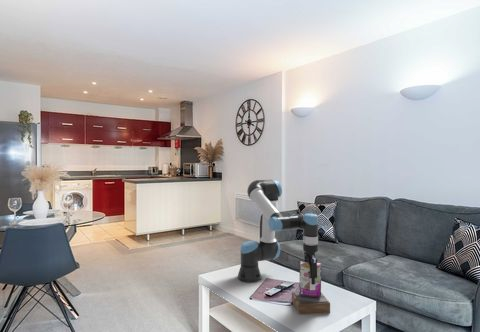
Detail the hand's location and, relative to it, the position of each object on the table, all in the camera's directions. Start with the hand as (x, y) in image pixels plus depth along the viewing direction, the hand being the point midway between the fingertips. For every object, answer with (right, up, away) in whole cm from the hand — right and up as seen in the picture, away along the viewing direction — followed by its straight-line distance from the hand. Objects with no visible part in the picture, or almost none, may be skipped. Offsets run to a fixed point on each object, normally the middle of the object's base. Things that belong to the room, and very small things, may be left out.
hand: (310, 287), depth 158 cm
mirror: (0, -11, 0) cm, 11 cm away
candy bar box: (0, -4, 0) cm, 4 cm away
